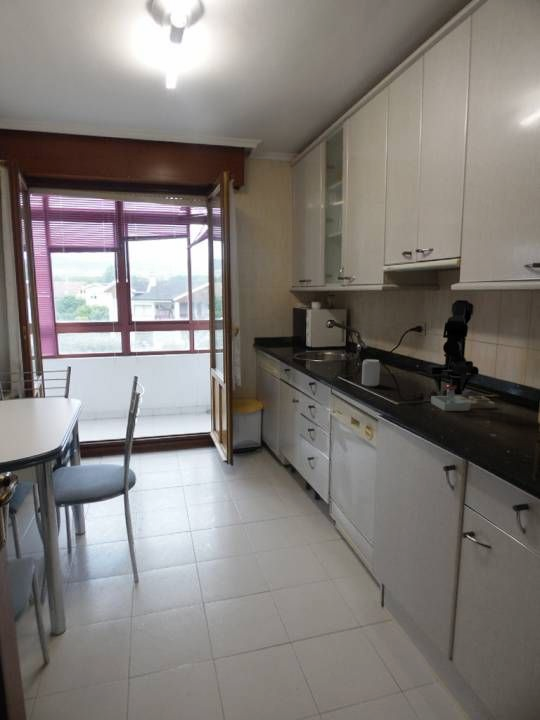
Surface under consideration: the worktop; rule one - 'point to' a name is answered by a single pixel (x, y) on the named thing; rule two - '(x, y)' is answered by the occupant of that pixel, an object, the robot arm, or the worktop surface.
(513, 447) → the worktop surface
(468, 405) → the tray
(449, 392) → the lock pin
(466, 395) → the block
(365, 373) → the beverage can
